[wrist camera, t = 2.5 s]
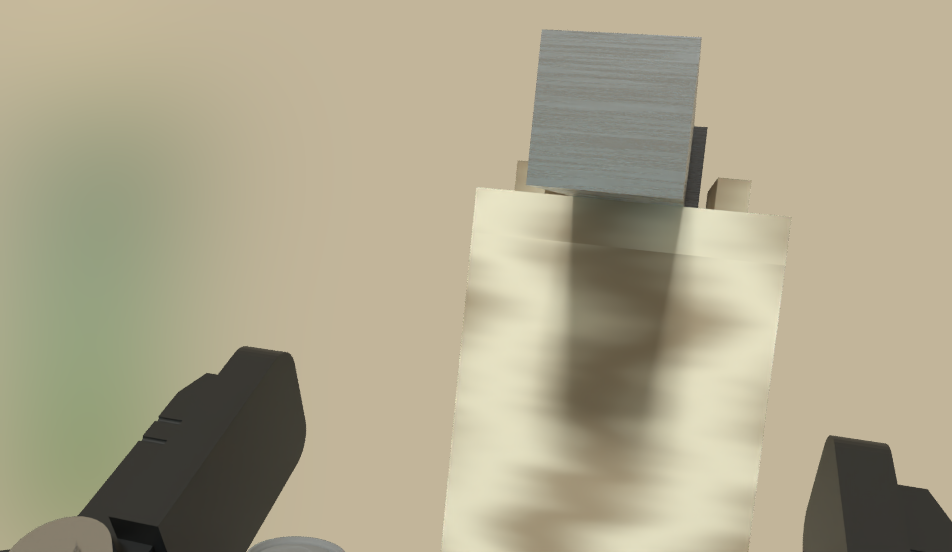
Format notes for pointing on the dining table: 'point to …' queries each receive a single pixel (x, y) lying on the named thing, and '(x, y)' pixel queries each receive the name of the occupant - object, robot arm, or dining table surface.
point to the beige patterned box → (613, 372)
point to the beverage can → (295, 545)
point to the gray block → (617, 118)
